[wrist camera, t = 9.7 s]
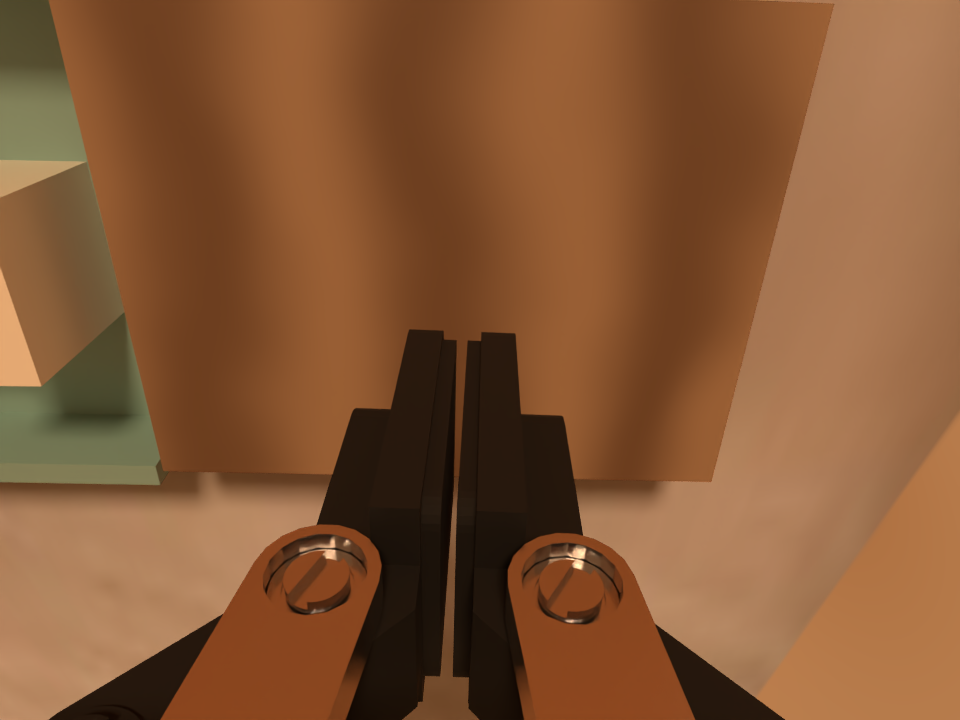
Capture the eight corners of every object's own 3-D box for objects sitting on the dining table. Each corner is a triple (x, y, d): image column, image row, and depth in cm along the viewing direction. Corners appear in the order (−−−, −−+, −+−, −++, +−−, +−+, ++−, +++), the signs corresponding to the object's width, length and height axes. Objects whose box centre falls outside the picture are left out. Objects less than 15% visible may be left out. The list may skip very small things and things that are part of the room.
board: (765, 3, 19) (834, 3, 15) (678, 415, 25) (711, 481, 22) (124, -23, 18) (41, -29, 15) (206, 404, 25) (163, 471, 21)
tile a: (-21, 206, 16) (-149, 203, 16) (41, 386, 18) (-70, 385, 18) (86, 161, 20) (-14, 159, 20) (125, 311, 22) (36, 310, 22)
